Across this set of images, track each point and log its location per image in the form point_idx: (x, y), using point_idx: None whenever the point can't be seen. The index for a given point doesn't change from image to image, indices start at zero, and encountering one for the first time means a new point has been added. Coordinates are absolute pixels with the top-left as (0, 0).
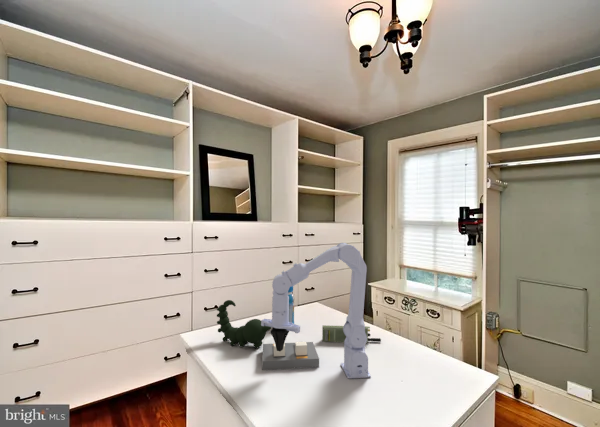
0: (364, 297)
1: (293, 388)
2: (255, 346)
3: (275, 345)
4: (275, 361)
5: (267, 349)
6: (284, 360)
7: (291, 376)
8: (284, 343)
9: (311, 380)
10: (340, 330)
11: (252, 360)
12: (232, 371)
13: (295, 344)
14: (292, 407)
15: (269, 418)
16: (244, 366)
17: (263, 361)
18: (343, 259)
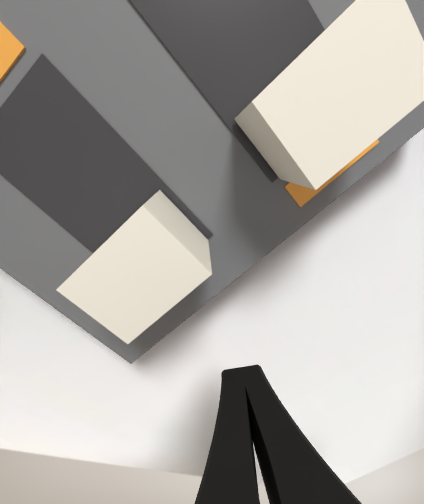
0: None
1: (357, 347)
2: None
3: (121, 320)
4: (190, 312)
5: (1, 226)
6: (236, 276)
7: (303, 287)
8: (160, 225)
9: (412, 257)
10: None
11: (10, 292)
12: (45, 405)
13: (262, 125)
14: (398, 416)
15: (355, 471)
16: (42, 354)
17: (135, 359)
18: None
